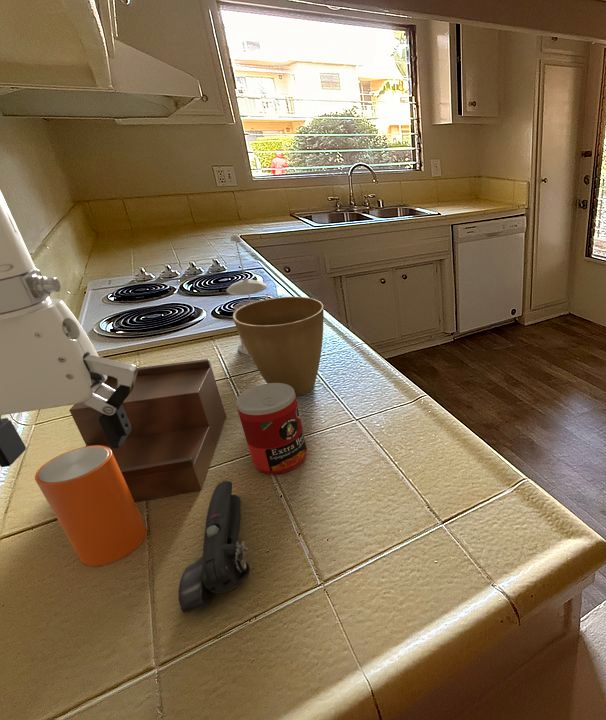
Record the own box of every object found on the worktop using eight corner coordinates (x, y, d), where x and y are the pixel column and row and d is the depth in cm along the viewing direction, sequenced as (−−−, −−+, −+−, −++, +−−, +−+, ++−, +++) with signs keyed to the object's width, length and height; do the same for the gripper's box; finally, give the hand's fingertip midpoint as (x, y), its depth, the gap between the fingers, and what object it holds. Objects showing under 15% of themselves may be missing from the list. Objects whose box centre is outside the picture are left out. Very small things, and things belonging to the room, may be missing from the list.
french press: (255, 334, 112) (229, 229, 100) (298, 338, 110) (277, 231, 98) (227, 352, 103) (196, 239, 92) (274, 356, 101) (248, 241, 90)
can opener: (253, 604, 48) (240, 566, 46) (177, 626, 46) (159, 588, 44) (261, 492, 63) (252, 459, 61) (204, 505, 61) (192, 472, 58)
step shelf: (63, 515, 60) (24, 445, 54) (119, 432, 76) (93, 372, 71) (201, 490, 64) (177, 422, 59) (226, 416, 80) (209, 358, 75)
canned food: (276, 482, 65) (258, 417, 60) (241, 463, 69) (223, 400, 64) (319, 453, 71) (306, 391, 66) (285, 437, 74) (271, 377, 69)
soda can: (69, 572, 52) (20, 490, 46) (94, 528, 58) (53, 451, 52) (136, 557, 54) (97, 476, 48) (154, 517, 59) (120, 440, 54)
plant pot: (269, 418, 79) (247, 332, 72) (243, 385, 89) (222, 307, 82) (349, 389, 88) (337, 310, 81) (317, 362, 98) (304, 290, 91)
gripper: (117, 275, 47) (170, 416, 55) (-99, 294, 43) (-8, 444, 50) (84, 297, 41) (150, 454, 48) (-175, 322, 36) (-57, 490, 44)
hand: (69, 449), depth 49 cm, fingers open, 9 cm apart
